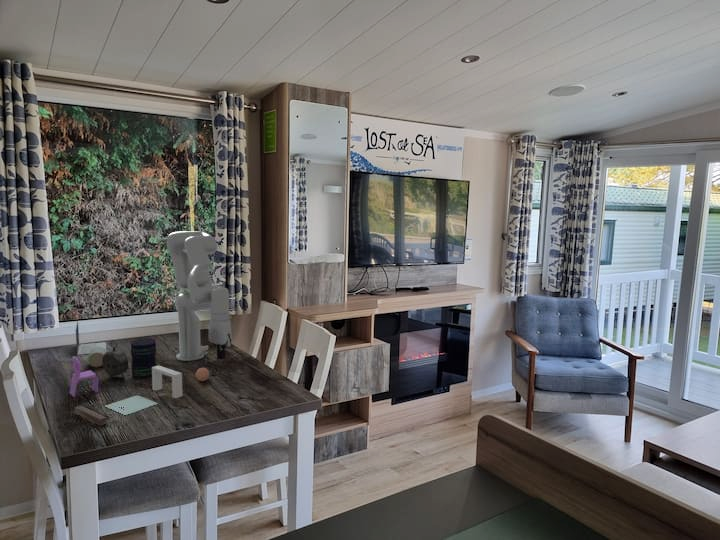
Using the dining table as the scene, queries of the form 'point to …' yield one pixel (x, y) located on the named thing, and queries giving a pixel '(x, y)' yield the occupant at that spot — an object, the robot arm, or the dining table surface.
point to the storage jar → (143, 358)
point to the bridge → (175, 375)
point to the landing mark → (131, 405)
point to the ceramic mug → (96, 356)
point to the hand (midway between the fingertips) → (221, 358)
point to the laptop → (86, 345)
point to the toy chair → (81, 377)
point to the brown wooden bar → (90, 415)
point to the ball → (202, 374)
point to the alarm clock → (115, 362)
